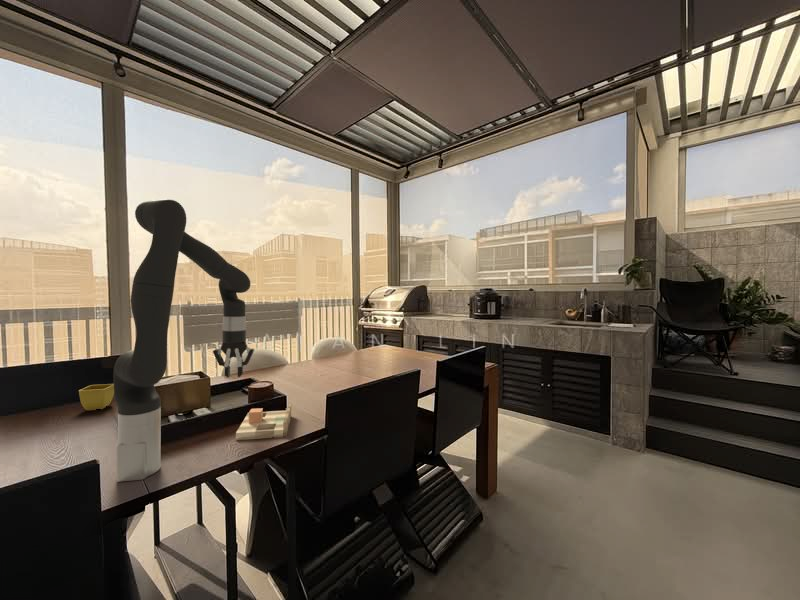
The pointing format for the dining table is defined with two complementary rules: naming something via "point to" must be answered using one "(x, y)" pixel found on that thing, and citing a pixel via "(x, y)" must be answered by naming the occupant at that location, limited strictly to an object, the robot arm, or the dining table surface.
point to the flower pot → (96, 396)
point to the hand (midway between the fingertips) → (233, 376)
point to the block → (255, 415)
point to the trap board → (266, 426)
